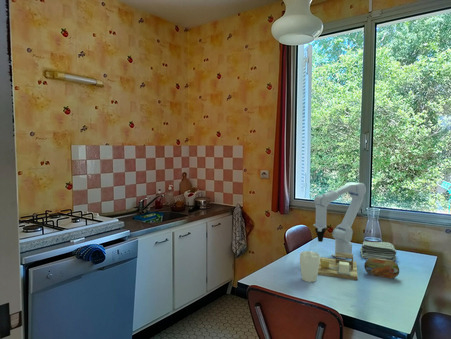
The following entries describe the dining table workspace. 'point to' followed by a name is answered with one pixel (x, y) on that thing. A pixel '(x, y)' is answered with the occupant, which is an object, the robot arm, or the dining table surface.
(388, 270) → the tin
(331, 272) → the board tunnel
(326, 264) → the slider
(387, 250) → the towel
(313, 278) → the cup
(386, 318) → the dining table surface
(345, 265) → the block
